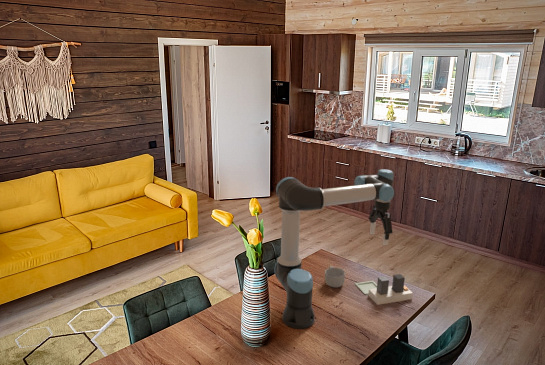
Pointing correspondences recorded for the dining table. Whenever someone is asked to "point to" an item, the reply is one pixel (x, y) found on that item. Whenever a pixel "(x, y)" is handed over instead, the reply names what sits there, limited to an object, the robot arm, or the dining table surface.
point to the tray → (366, 286)
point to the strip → (388, 293)
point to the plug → (398, 283)
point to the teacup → (334, 276)
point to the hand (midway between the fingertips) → (378, 239)
